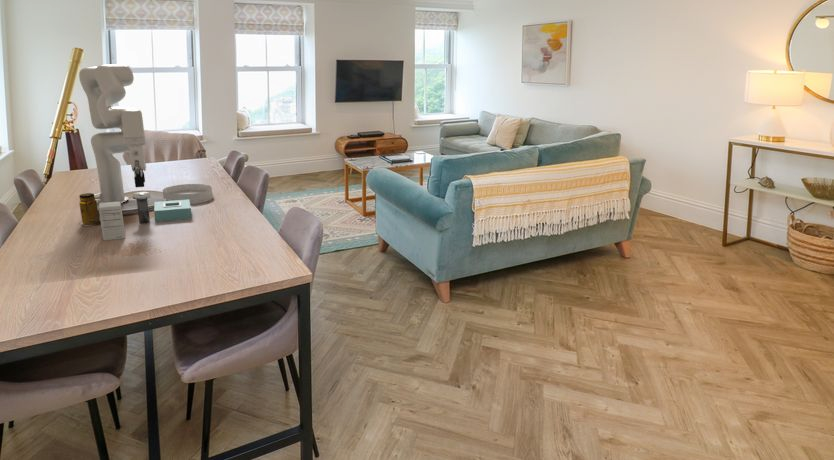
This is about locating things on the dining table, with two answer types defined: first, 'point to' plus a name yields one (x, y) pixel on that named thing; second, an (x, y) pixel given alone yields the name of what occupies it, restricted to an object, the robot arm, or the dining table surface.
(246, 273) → the dining table surface
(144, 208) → the bolt
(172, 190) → the dish
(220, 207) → the dining table surface
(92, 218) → the condiment
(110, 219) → the supplement box
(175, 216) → the dock
